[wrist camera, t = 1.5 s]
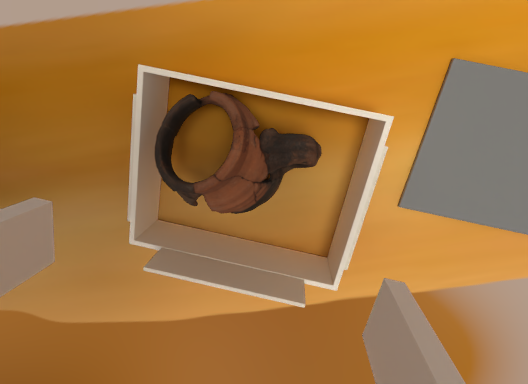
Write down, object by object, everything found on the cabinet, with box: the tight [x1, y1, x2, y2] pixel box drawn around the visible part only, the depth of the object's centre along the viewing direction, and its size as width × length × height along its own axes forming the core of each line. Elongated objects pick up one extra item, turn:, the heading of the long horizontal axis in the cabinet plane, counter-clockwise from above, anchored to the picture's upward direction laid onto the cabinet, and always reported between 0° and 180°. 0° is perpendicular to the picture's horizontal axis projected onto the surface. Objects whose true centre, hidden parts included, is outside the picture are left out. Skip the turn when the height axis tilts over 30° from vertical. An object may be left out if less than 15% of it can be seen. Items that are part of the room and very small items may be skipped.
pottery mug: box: [154, 91, 321, 214], centre depth 22 cm, size 12×9×8 cm
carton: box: [127, 64, 394, 308], centre depth 22 cm, size 18×14×7 cm
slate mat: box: [398, 58, 528, 235], centre depth 23 cm, size 12×12×1 cm
